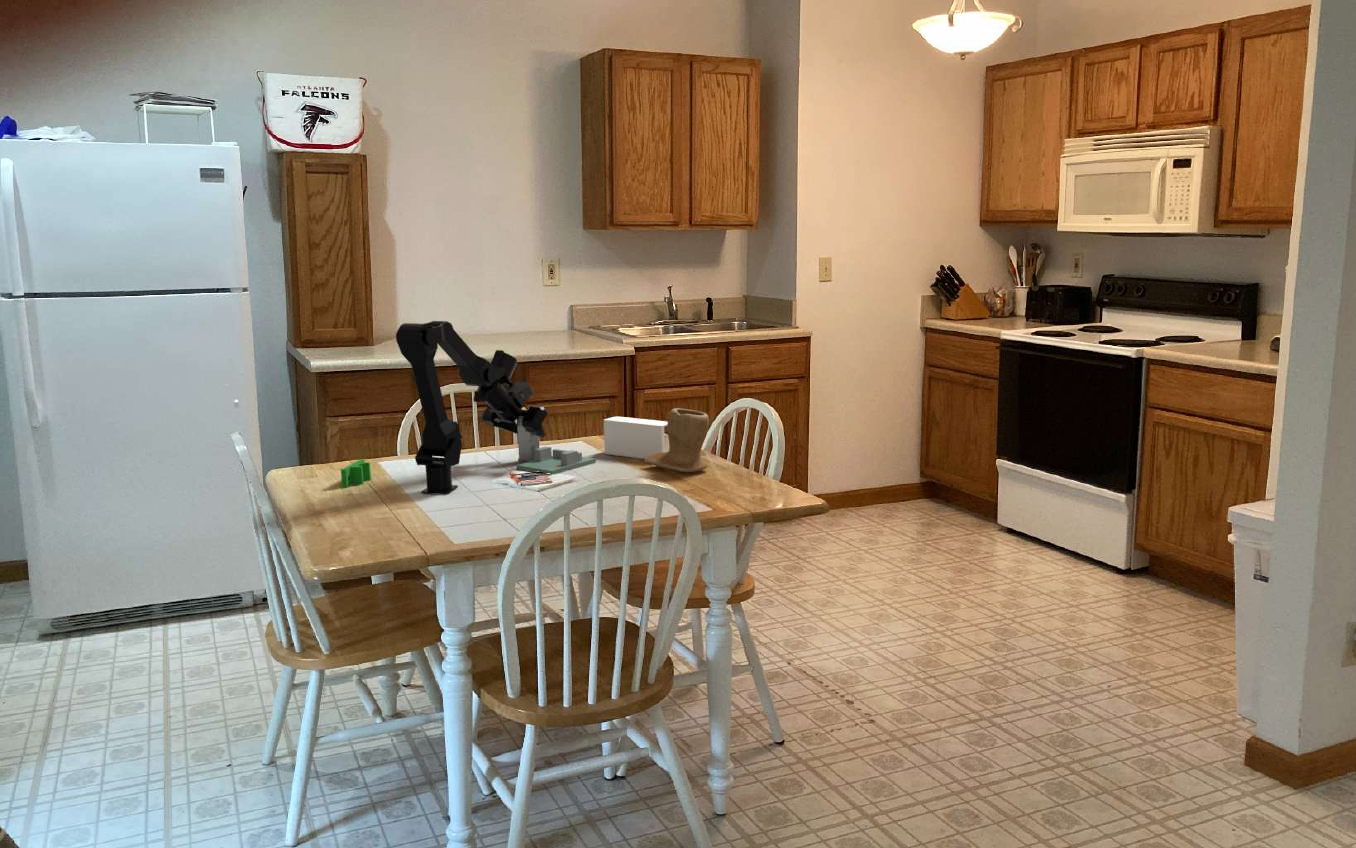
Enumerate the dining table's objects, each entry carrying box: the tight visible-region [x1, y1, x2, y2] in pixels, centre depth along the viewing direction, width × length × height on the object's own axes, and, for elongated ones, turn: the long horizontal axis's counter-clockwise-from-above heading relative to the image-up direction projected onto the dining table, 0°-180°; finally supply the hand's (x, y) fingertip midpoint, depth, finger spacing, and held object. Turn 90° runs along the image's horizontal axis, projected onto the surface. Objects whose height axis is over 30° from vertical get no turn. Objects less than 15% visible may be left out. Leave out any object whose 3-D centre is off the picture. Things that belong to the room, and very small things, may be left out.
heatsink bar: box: [516, 419, 540, 464], centre depth 279 cm, size 3×5×13 cm
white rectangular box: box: [603, 416, 669, 460], centre depth 283 cm, size 20×6×9 cm, turn 55°
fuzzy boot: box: [643, 407, 710, 473], centre depth 266 cm, size 15×12×15 cm
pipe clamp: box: [340, 459, 372, 489], centre depth 261 cm, size 11×4×5 cm, turn 173°
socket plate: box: [516, 446, 597, 475], centre depth 274 cm, size 16×12×4 cm
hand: (532, 434), depth 280 cm, fingers open, 8 cm apart
